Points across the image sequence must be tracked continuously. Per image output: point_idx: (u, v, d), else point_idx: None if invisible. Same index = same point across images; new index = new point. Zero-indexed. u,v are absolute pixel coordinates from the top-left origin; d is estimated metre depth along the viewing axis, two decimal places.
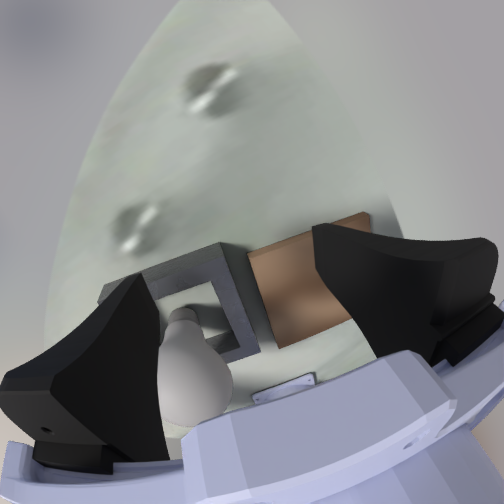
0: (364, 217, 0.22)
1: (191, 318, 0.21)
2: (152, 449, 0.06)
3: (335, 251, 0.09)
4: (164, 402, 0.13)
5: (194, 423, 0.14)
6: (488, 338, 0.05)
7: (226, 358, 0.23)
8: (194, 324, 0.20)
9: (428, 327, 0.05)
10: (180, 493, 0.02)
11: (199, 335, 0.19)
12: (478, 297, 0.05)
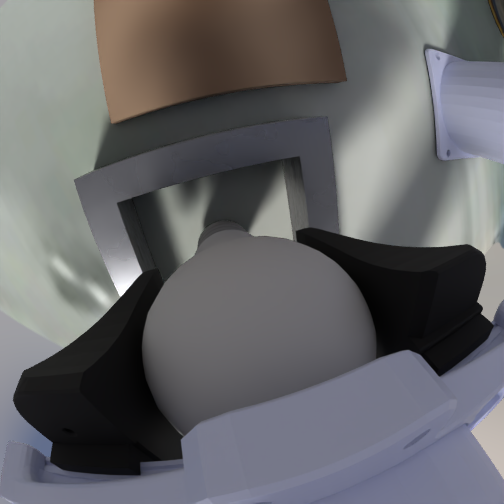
0: None
1: (203, 240, 0.12)
2: (175, 447, 0.06)
3: None
4: None
5: None
6: (474, 351, 0.05)
7: (321, 189, 0.11)
8: (201, 245, 0.11)
9: (406, 339, 0.05)
10: (180, 493, 0.02)
11: None
12: (463, 308, 0.05)
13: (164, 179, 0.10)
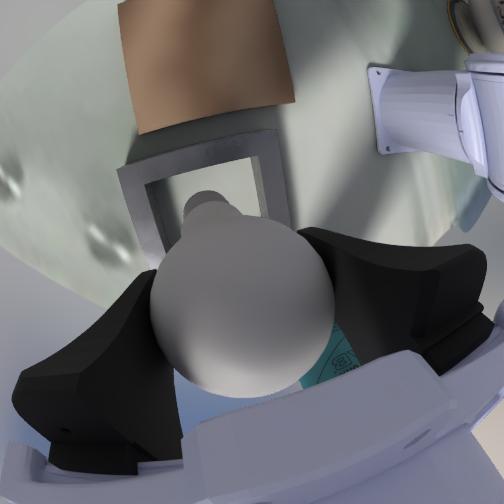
0: (118, 8, 0.11)
1: (190, 209, 0.13)
2: (172, 447, 0.06)
3: None
4: (214, 393, 0.07)
5: (284, 378, 0.07)
6: (475, 349, 0.05)
7: (273, 176, 0.18)
8: (189, 214, 0.12)
9: (408, 338, 0.05)
10: (180, 493, 0.02)
11: (193, 223, 0.11)
12: (464, 307, 0.05)
13: (174, 170, 0.16)
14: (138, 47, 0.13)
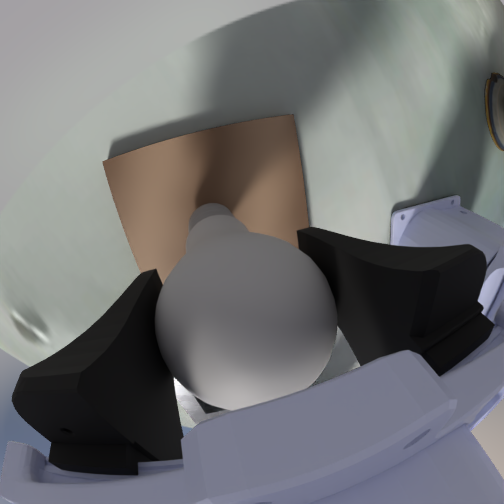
0: (105, 169, 0.13)
1: (195, 221, 0.13)
2: (173, 447, 0.06)
3: (318, 256, 0.09)
4: (217, 406, 0.07)
5: (287, 394, 0.07)
6: (474, 350, 0.05)
7: None
8: (195, 228, 0.12)
9: (407, 339, 0.05)
10: (180, 493, 0.02)
11: (199, 237, 0.11)
12: (464, 307, 0.05)
13: None
14: (142, 230, 0.15)
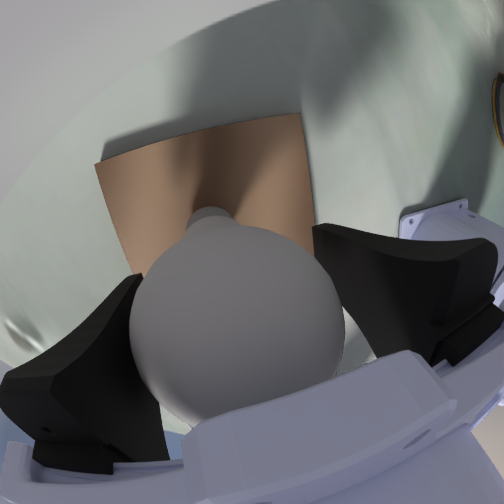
0: (97, 173, 0.12)
1: (191, 224, 0.12)
2: (152, 449, 0.06)
3: (335, 251, 0.09)
4: None
5: None
6: (488, 338, 0.05)
7: None
8: (189, 229, 0.11)
9: (428, 327, 0.05)
10: (180, 493, 0.02)
11: None
12: (478, 297, 0.05)
13: None
14: (137, 238, 0.14)
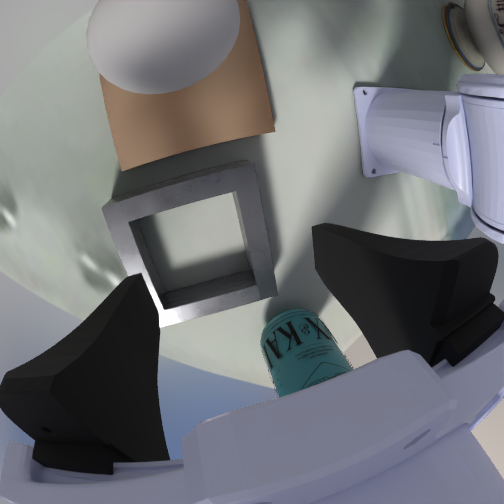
0: None
1: None
2: (152, 449, 0.06)
3: (335, 251, 0.09)
4: (107, 35, 0.05)
5: None
6: (488, 338, 0.05)
7: (252, 210, 0.18)
8: None
9: (428, 327, 0.05)
10: (180, 493, 0.02)
11: None
12: (478, 297, 0.05)
13: (155, 208, 0.17)
14: None
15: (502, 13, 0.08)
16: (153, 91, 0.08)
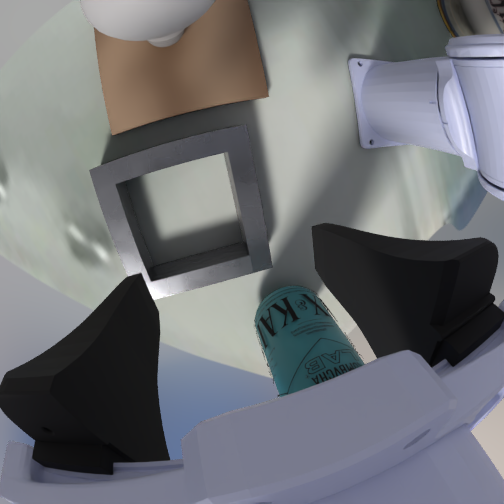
0: None
1: None
2: (152, 449, 0.06)
3: (335, 251, 0.09)
4: None
5: None
6: (488, 338, 0.05)
7: (244, 173, 0.17)
8: None
9: (428, 327, 0.05)
10: (180, 493, 0.02)
11: None
12: (478, 297, 0.05)
13: (144, 169, 0.16)
14: (111, 49, 0.13)
15: None
16: (137, 34, 0.07)
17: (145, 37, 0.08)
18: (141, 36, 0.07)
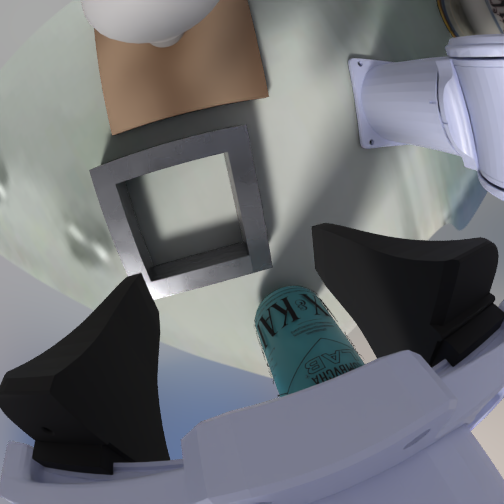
0: None
1: None
2: (152, 449, 0.06)
3: (335, 251, 0.09)
4: None
5: None
6: (488, 338, 0.05)
7: (244, 173, 0.17)
8: None
9: (428, 327, 0.05)
10: (180, 493, 0.02)
11: None
12: (478, 297, 0.05)
13: (144, 169, 0.16)
14: (111, 49, 0.13)
15: None
16: (139, 37, 0.07)
17: (147, 40, 0.08)
18: (143, 39, 0.08)
